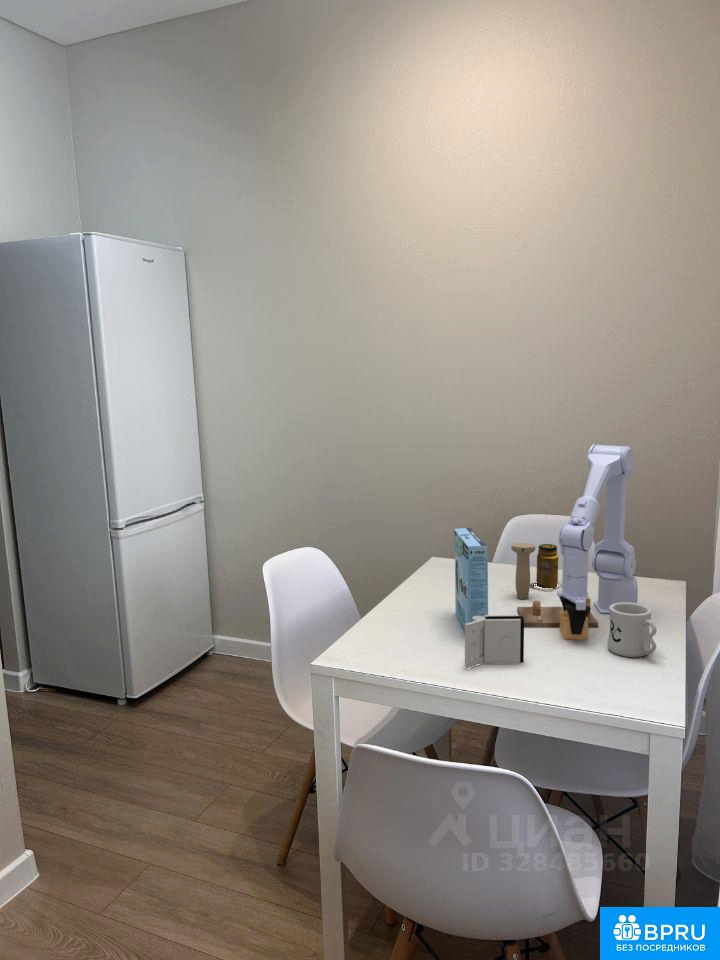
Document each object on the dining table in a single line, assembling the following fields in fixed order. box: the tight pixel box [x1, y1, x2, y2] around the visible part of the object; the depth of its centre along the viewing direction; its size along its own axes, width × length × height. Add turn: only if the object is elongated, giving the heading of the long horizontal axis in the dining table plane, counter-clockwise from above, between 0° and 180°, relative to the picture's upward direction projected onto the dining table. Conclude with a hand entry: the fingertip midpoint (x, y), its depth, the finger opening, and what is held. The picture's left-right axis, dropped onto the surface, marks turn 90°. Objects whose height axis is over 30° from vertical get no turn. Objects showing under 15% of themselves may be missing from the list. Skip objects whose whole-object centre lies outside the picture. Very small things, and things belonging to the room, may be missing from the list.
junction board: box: [516, 596, 599, 629], centre depth 189 cm, size 18×12×7 cm, turn 86°
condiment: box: [530, 543, 562, 592], centre depth 216 cm, size 7×8×12 cm
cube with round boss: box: [559, 610, 589, 640], centre depth 178 cm, size 5×5×6 cm
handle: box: [510, 542, 536, 600], centre depth 205 cm, size 5×6×15 cm
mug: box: [607, 602, 658, 658], centre depth 166 cm, size 12×9×10 cm
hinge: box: [464, 614, 525, 668], centre depth 163 cm, size 14×5×10 cm, turn 101°
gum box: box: [453, 527, 489, 632], centre depth 184 cm, size 20×5×23 cm, turn 2°
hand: (573, 629), depth 178 cm, fingers closed on cube with round boss, 5 cm apart
